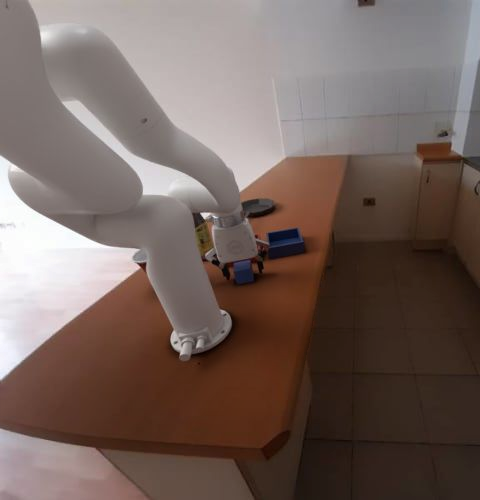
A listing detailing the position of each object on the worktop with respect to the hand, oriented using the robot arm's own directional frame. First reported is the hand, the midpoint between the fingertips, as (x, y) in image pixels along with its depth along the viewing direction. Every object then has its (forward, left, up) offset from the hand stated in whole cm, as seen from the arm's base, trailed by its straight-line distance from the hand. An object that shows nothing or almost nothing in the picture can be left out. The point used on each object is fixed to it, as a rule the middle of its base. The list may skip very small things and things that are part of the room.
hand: (244, 274), depth 78 cm
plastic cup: (+4, +21, -2) cm, 21 cm away
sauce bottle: (+18, +13, -2) cm, 22 cm away
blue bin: (+14, -13, -1) cm, 19 cm away
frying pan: (+46, -2, -2) cm, 46 cm away
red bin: (+14, +1, -1) cm, 14 cm away
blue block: (0, 0, -1) cm, 1 cm away
